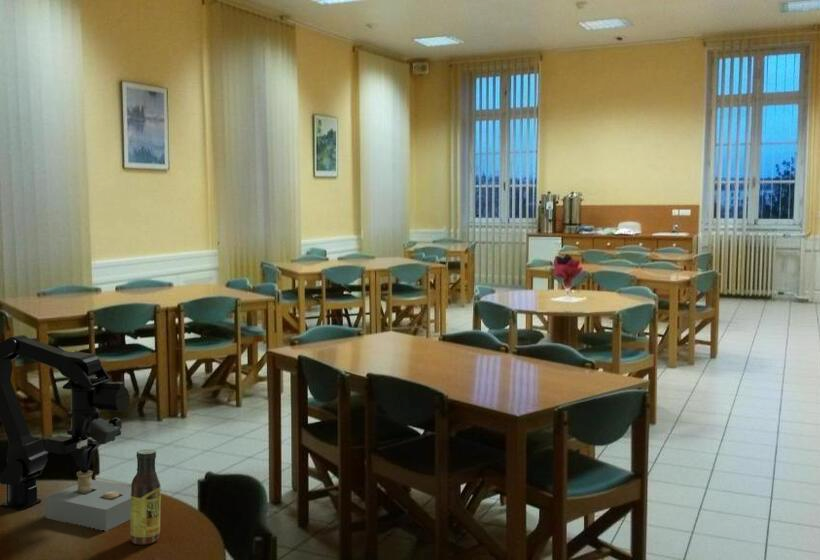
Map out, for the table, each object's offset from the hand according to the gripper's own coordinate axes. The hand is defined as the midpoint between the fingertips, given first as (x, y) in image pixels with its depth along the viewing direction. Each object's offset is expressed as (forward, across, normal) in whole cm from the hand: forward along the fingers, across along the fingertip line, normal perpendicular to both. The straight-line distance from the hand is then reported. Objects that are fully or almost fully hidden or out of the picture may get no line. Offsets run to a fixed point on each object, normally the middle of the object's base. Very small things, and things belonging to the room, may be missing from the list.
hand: (84, 472), depth 187 cm
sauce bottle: (+10, -7, -24) cm, 27 cm away
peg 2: (+10, 0, -8) cm, 13 cm away
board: (+10, 0, -4) cm, 10 cm away
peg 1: (+6, 0, 0) cm, 6 cm away
